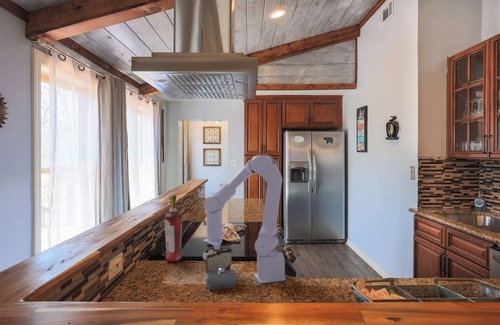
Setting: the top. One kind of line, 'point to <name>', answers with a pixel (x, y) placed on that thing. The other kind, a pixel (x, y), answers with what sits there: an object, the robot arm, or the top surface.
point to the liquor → (173, 232)
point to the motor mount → (220, 279)
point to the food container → (217, 258)
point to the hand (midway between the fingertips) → (214, 262)
